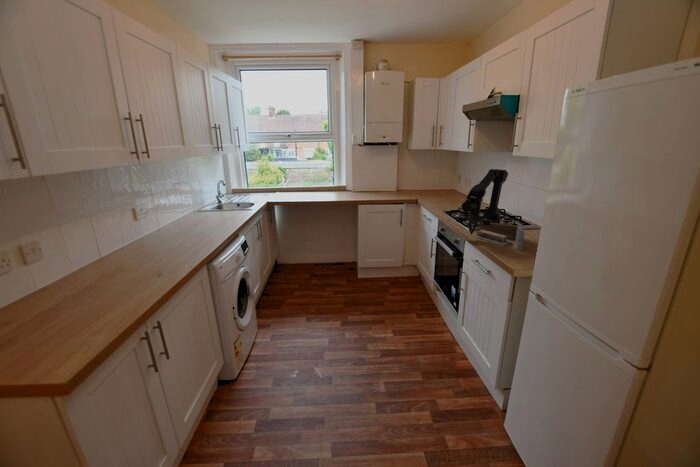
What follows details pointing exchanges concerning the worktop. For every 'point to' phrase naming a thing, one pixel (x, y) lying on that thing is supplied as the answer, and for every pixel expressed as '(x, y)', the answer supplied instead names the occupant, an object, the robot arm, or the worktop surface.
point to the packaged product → (492, 237)
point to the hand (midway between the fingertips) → (471, 234)
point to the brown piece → (506, 231)
